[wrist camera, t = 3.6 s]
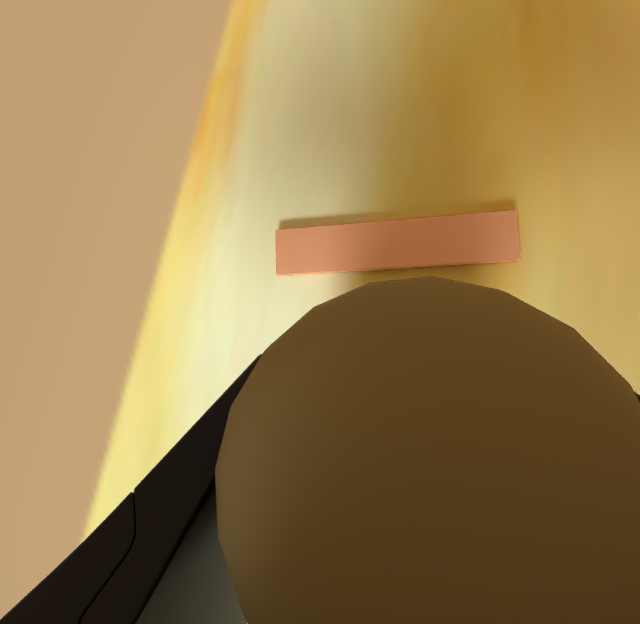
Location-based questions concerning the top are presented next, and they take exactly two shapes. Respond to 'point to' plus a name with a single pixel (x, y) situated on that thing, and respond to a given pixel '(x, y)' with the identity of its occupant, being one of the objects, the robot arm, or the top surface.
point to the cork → (432, 467)
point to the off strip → (399, 244)
